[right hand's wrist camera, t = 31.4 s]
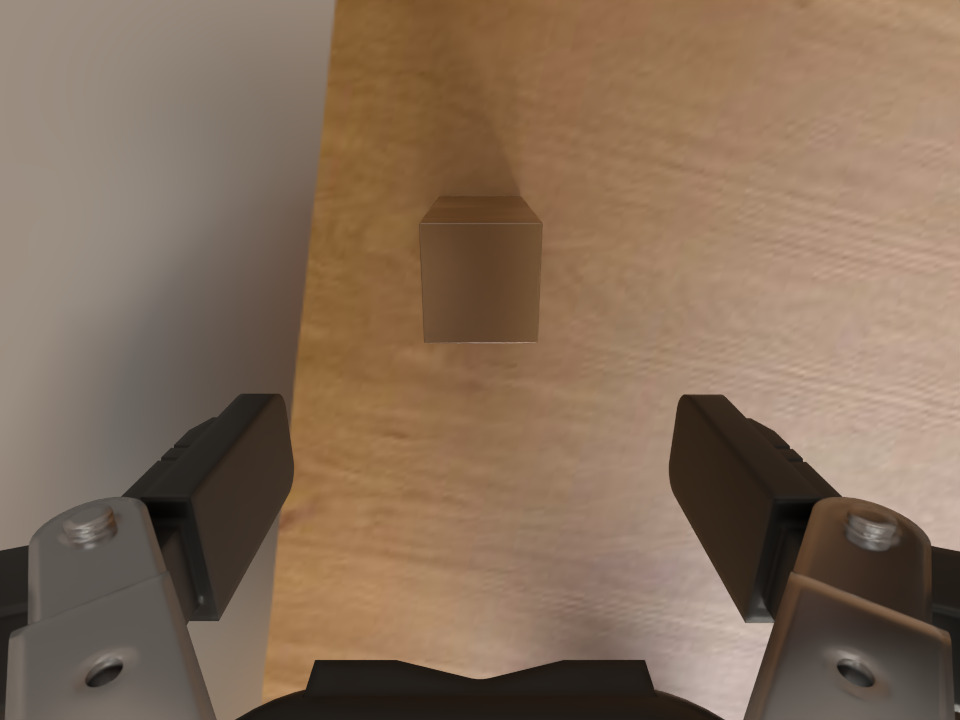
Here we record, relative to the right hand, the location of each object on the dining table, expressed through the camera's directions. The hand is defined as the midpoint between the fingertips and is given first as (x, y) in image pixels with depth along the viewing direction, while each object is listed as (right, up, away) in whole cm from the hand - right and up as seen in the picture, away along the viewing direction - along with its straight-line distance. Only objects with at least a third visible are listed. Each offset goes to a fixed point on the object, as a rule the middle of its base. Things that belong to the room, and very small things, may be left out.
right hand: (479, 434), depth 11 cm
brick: (0, +9, +22) cm, 24 cm away
